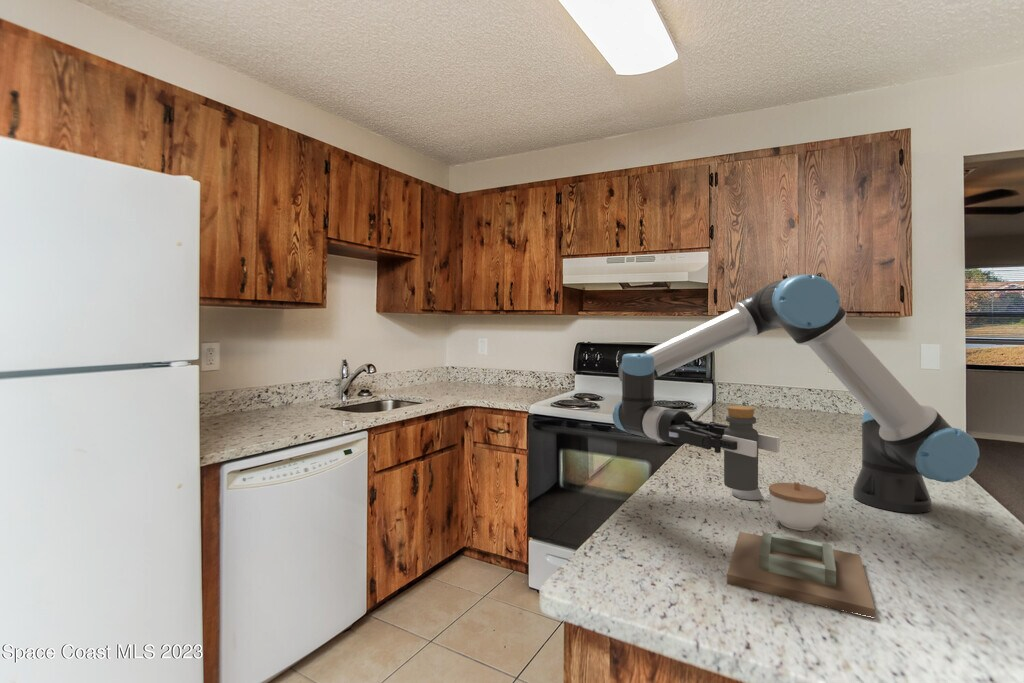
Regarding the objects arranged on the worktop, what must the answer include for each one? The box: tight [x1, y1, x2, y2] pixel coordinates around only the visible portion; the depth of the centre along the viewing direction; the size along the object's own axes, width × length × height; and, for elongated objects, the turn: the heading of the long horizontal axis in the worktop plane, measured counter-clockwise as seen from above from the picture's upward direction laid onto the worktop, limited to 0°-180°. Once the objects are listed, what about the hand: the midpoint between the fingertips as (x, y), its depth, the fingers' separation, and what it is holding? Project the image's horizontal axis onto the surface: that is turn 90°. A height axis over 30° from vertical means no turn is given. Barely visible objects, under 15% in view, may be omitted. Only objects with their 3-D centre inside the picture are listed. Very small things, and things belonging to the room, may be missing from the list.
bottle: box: [723, 405, 759, 491], centre depth 90 cm, size 6×6×15 cm
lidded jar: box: [768, 481, 827, 532], centre depth 104 cm, size 11×11×9 cm
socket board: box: [726, 531, 876, 618], centre depth 84 cm, size 20×20×4 cm
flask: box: [731, 486, 763, 501], centre depth 123 cm, size 7×7×10 cm
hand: (766, 447), depth 86 cm, fingers closed on bottle, 6 cm apart
